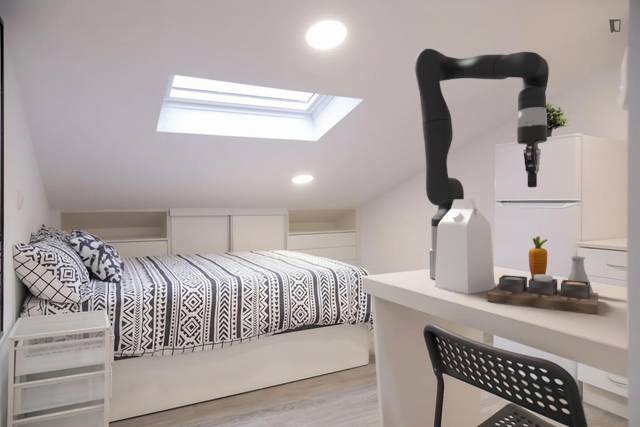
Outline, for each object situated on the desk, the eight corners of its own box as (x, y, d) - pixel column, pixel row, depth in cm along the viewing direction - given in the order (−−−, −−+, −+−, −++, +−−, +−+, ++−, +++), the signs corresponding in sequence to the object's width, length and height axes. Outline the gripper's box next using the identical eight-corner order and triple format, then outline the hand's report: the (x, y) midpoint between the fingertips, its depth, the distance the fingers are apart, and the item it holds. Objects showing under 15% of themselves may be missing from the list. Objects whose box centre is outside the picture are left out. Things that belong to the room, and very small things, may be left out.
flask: (599, 294, 110) (598, 256, 109) (587, 298, 105) (587, 259, 105) (569, 289, 115) (569, 254, 115) (557, 293, 111) (557, 256, 111)
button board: (487, 301, 104) (487, 281, 103) (498, 291, 115) (498, 273, 115) (597, 314, 91) (597, 291, 90) (598, 300, 102) (598, 280, 102)
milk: (494, 288, 118) (494, 198, 118) (467, 294, 112) (467, 199, 112) (461, 282, 129) (460, 199, 128) (434, 286, 123) (433, 199, 122)
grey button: (532, 283, 104) (532, 276, 104) (535, 280, 107) (535, 273, 107) (551, 285, 101) (551, 277, 101) (553, 282, 105) (553, 275, 105)
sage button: (503, 285, 108) (502, 279, 108) (506, 283, 111) (506, 276, 111) (520, 287, 105) (520, 280, 105) (523, 284, 109) (523, 278, 109)
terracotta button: (564, 291, 100) (564, 284, 100) (566, 288, 103) (566, 281, 103) (585, 293, 98) (585, 285, 97) (586, 290, 101) (586, 282, 101)
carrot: (534, 284, 123) (534, 234, 122) (551, 287, 119) (551, 235, 118) (525, 287, 120) (524, 235, 120) (542, 289, 116) (541, 236, 116)
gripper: (521, 130, 124) (521, 188, 124) (513, 124, 113) (513, 187, 113) (549, 127, 120) (549, 187, 120) (544, 120, 109) (544, 186, 109)
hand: (532, 187), depth 117 cm, fingers closed
